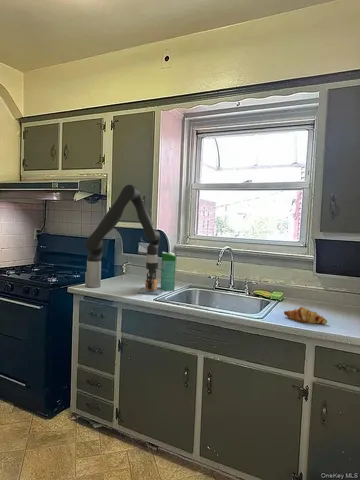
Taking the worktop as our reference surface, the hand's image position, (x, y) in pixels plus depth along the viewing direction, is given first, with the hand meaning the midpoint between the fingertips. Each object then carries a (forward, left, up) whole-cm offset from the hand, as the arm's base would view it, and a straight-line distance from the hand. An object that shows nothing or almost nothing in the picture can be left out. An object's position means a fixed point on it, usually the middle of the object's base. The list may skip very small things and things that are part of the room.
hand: (151, 287), depth 227 cm
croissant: (+90, -32, -3) cm, 95 cm away
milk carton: (+8, +14, -3) cm, 16 cm away
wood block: (0, 0, -1) cm, 1 cm away
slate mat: (0, 0, -3) cm, 3 cm away
